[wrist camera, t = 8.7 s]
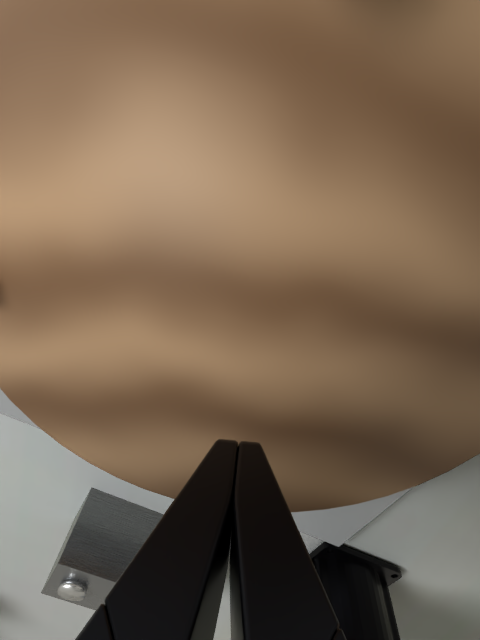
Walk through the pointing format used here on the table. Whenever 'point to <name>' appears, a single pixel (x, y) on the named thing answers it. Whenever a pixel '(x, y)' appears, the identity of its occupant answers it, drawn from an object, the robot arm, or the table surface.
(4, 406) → the base plate
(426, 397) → the round wooden board
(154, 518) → the steel link block
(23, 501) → the table surface
